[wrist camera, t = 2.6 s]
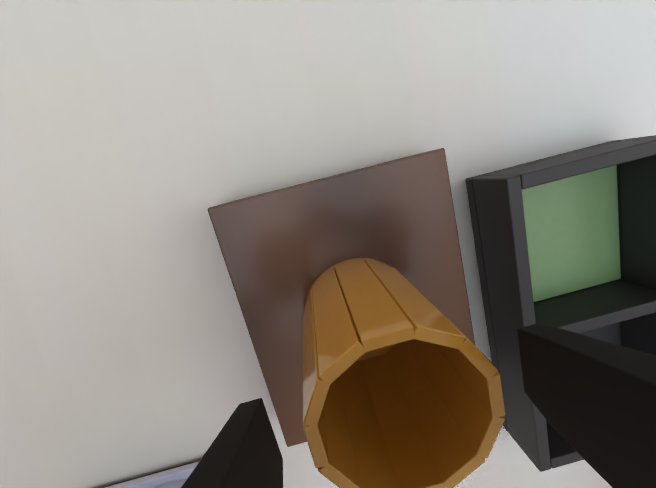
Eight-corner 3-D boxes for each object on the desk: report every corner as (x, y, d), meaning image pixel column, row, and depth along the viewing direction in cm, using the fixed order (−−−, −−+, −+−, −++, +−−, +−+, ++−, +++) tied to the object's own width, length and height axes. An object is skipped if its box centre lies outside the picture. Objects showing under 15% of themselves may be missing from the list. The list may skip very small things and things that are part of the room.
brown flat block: (289, 416, 17) (287, 447, 15) (220, 204, 14) (206, 208, 12) (462, 369, 17) (483, 393, 15) (425, 152, 15) (444, 147, 13)
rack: (500, 423, 18) (540, 472, 15) (465, 178, 15) (506, 178, 12) (622, 389, 18) (684, 431, 15) (612, 140, 15) (689, 130, 12)
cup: (320, 371, 14) (333, 525, 8) (291, 273, 13) (281, 361, 7) (421, 344, 14) (514, 473, 8) (401, 245, 13) (491, 304, 7)
